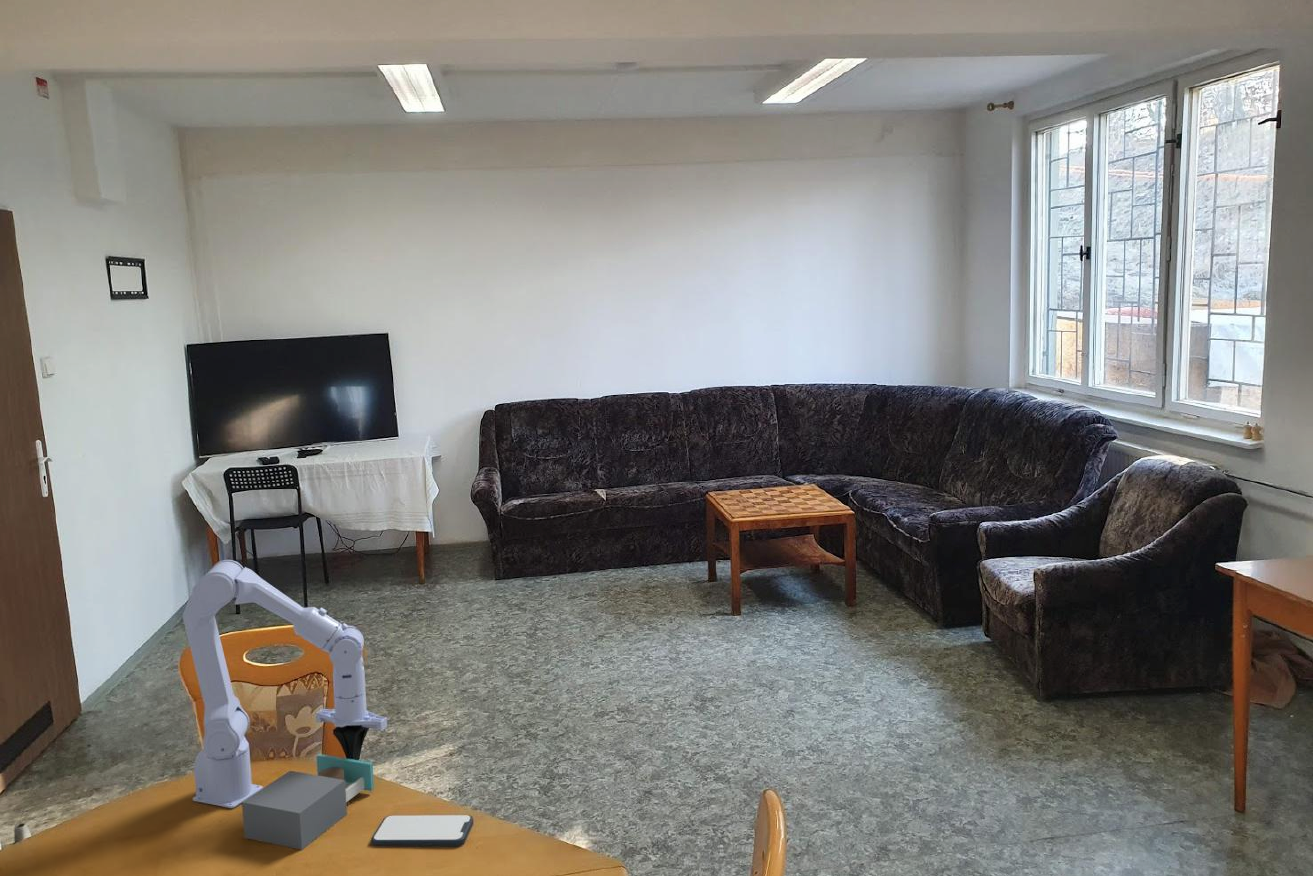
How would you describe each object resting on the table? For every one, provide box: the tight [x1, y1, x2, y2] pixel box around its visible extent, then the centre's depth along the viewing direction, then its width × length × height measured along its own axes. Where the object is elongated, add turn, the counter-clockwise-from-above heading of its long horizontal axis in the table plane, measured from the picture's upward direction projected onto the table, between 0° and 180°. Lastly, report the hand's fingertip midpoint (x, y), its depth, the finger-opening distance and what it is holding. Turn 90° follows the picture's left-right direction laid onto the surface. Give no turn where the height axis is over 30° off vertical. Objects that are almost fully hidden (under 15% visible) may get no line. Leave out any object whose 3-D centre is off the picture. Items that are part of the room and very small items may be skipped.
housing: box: [241, 770, 348, 851], centre depth 169 cm, size 12×12×6 cm
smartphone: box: [370, 814, 474, 848], centre depth 167 cm, size 9×2×16 cm
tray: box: [316, 753, 375, 803], centre depth 177 cm, size 12×12×5 cm
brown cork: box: [317, 767, 344, 780], centre depth 178 cm, size 4×4×4 cm
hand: (353, 761), depth 185 cm, fingers closed
